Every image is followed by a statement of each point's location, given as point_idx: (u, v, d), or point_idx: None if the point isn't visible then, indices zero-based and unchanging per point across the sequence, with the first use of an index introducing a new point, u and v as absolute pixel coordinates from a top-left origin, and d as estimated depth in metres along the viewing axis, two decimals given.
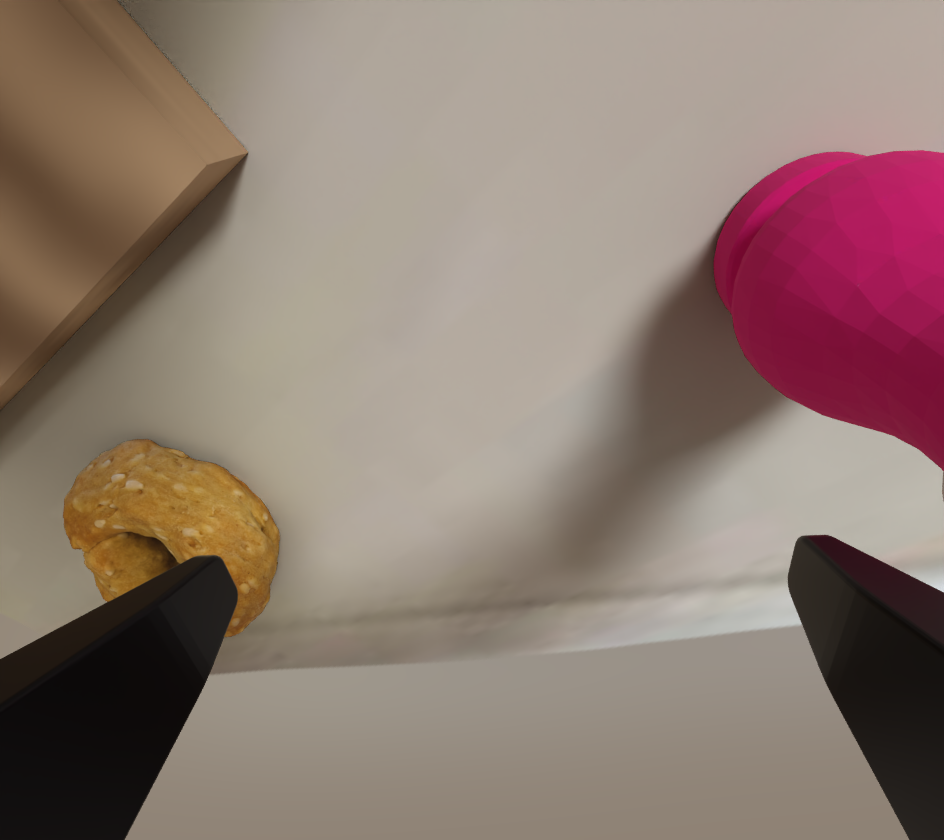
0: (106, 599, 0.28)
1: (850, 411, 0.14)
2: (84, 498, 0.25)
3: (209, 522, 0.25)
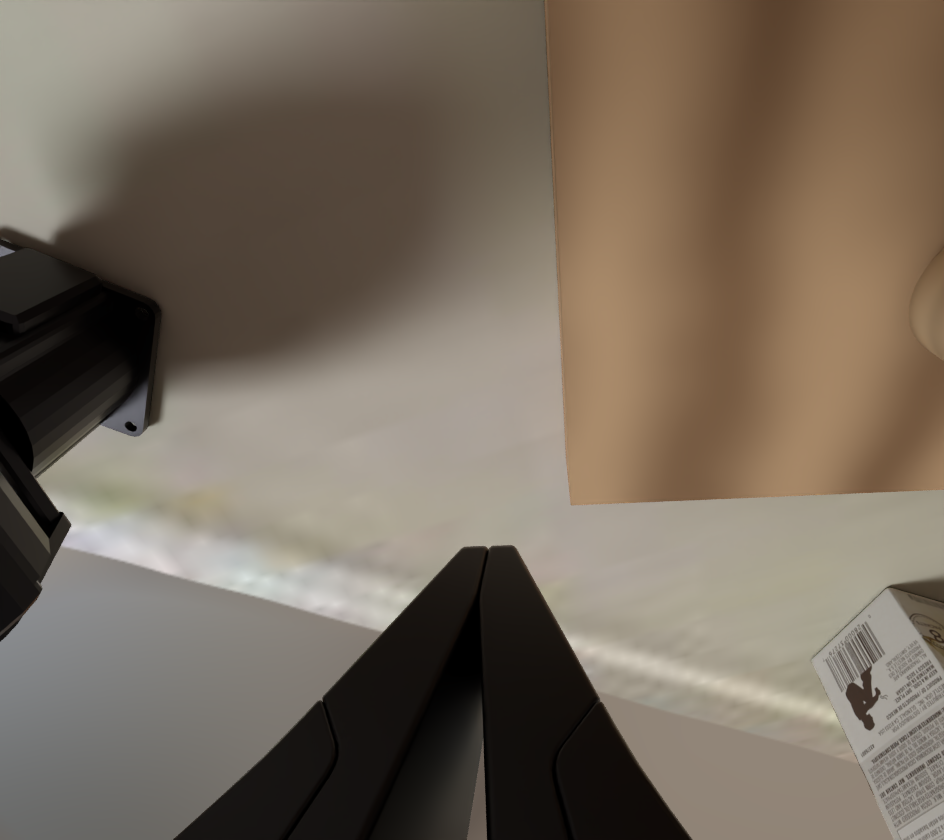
0: None
1: None
2: None
3: None
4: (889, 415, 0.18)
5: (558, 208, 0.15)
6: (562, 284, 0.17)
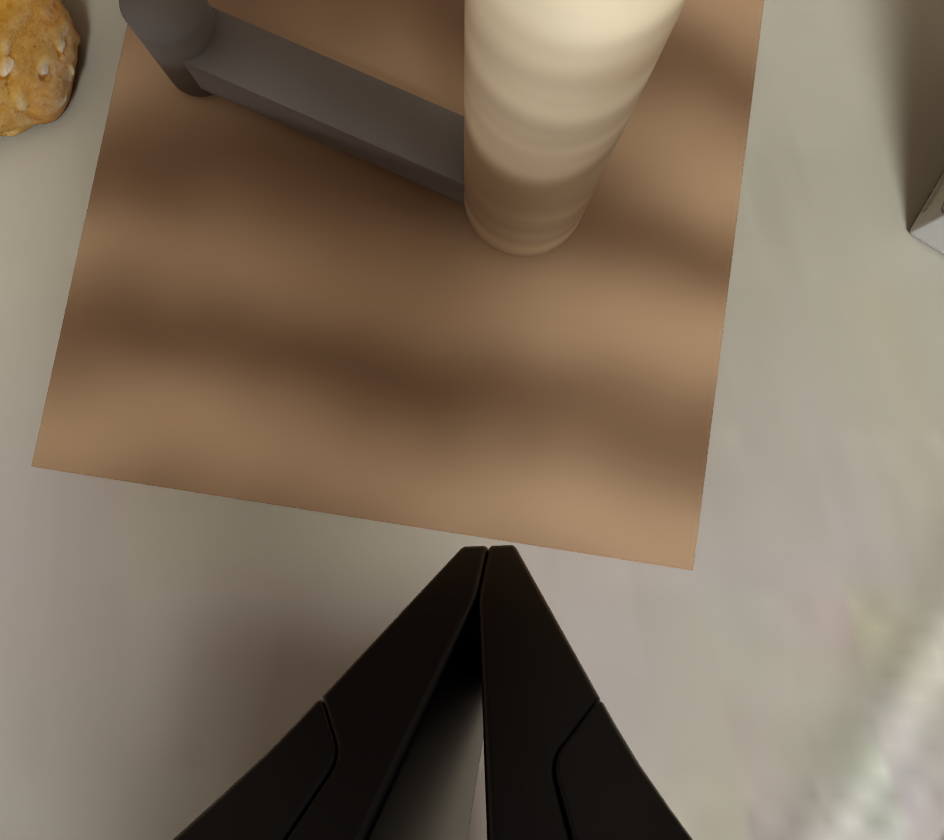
0: None
1: None
2: (17, 9, 0.20)
3: None
4: (639, 259, 0.19)
5: (375, 519, 0.19)
6: (440, 529, 0.19)
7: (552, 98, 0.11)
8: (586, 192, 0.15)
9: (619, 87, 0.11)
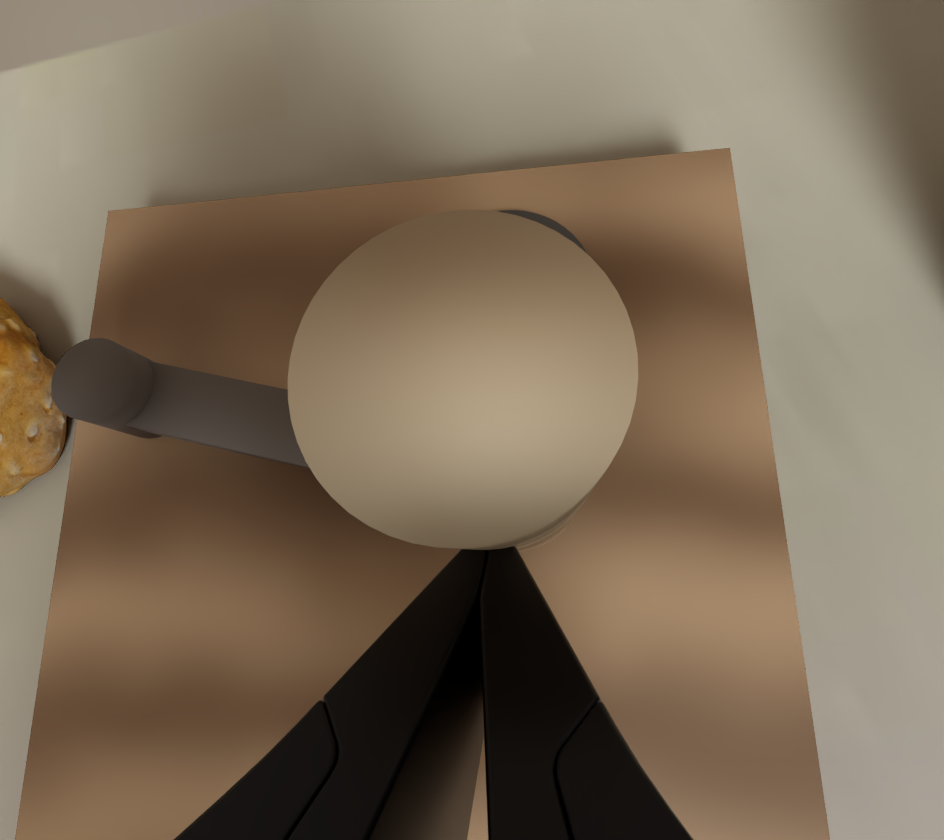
0: None
1: None
2: (1, 386, 0.20)
3: None
4: (664, 523, 0.16)
5: None
6: None
7: None
8: None
9: (564, 518, 0.08)
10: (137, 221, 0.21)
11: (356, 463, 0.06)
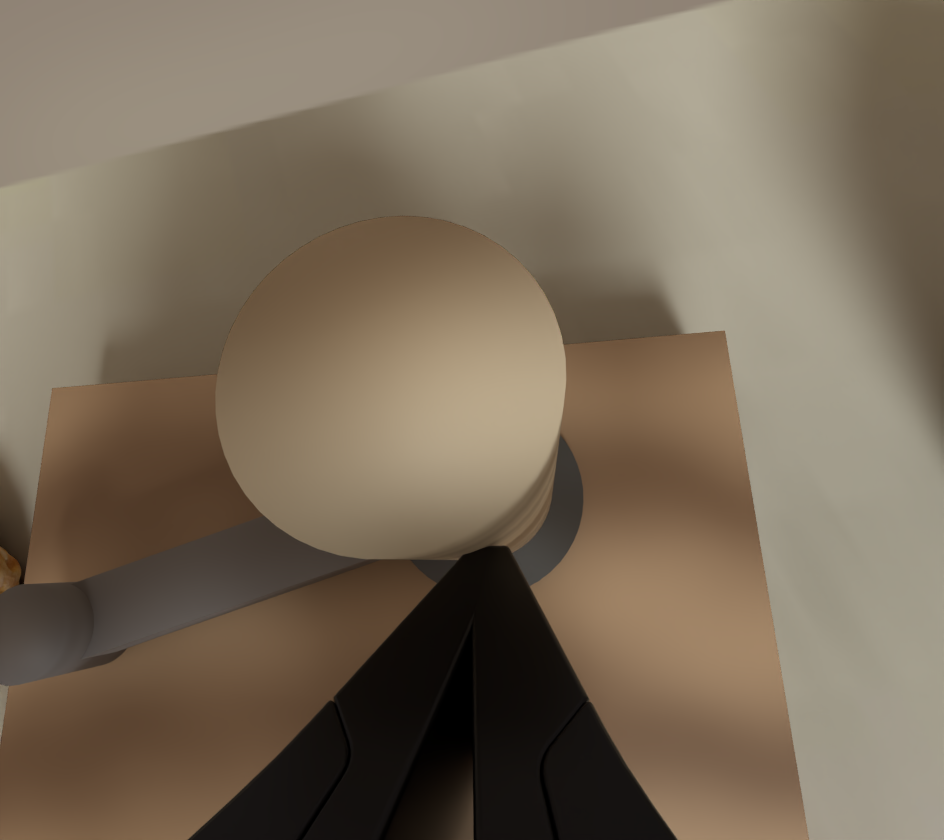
0: None
1: None
2: None
3: None
4: (667, 779, 0.14)
5: None
6: None
7: (495, 536, 0.08)
8: None
9: (552, 462, 0.08)
10: (83, 401, 0.19)
11: (346, 510, 0.06)
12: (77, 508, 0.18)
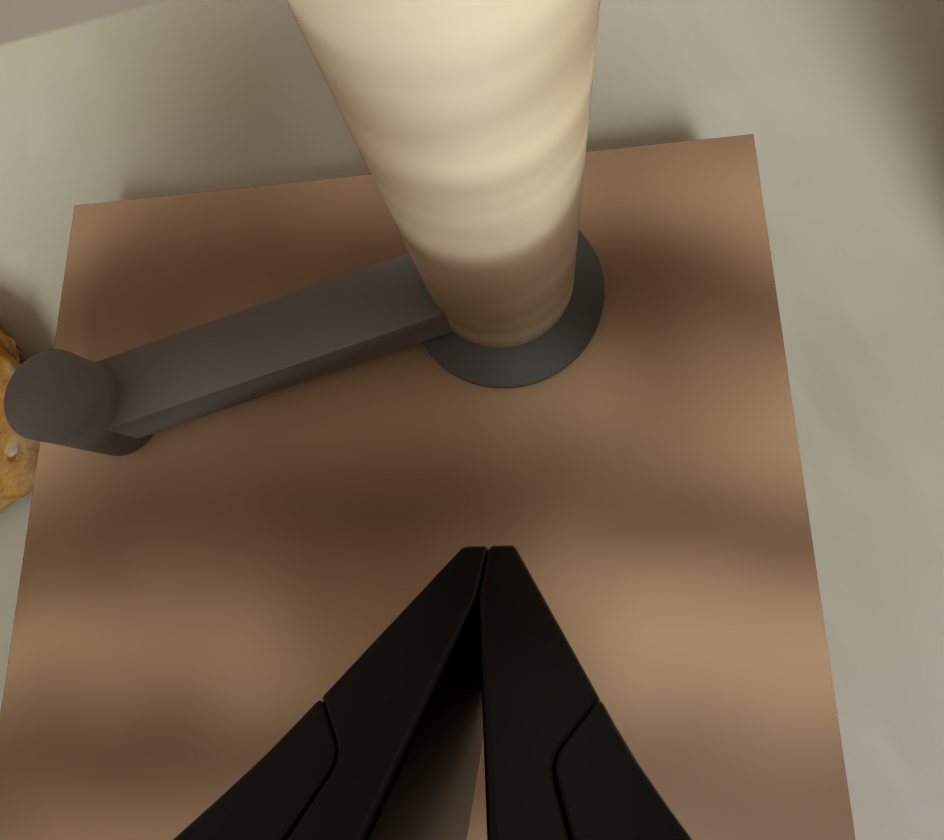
0: None
1: None
2: None
3: None
4: (681, 553, 0.14)
5: None
6: None
7: (529, 124, 0.08)
8: None
9: (589, 53, 0.08)
10: (105, 216, 0.19)
11: None
12: (100, 316, 0.18)
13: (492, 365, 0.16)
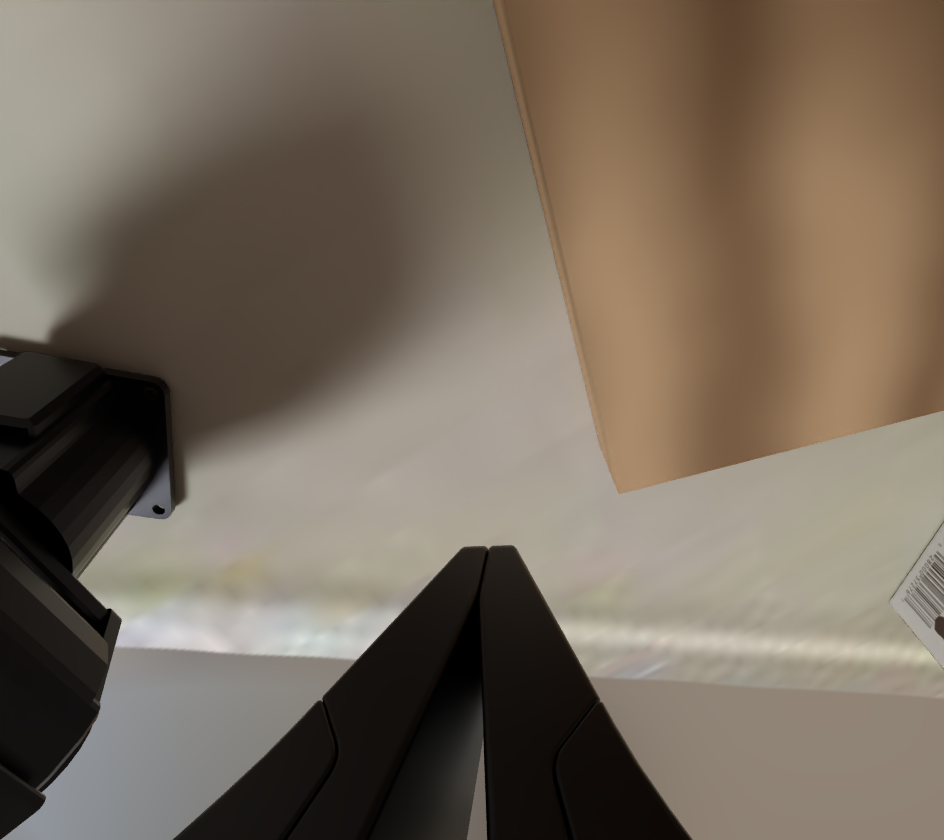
0: None
1: None
2: None
3: None
4: (923, 333, 0.17)
5: (550, 196, 0.15)
6: (568, 271, 0.16)
7: None
8: None
9: None
10: None
11: None
12: None
13: None
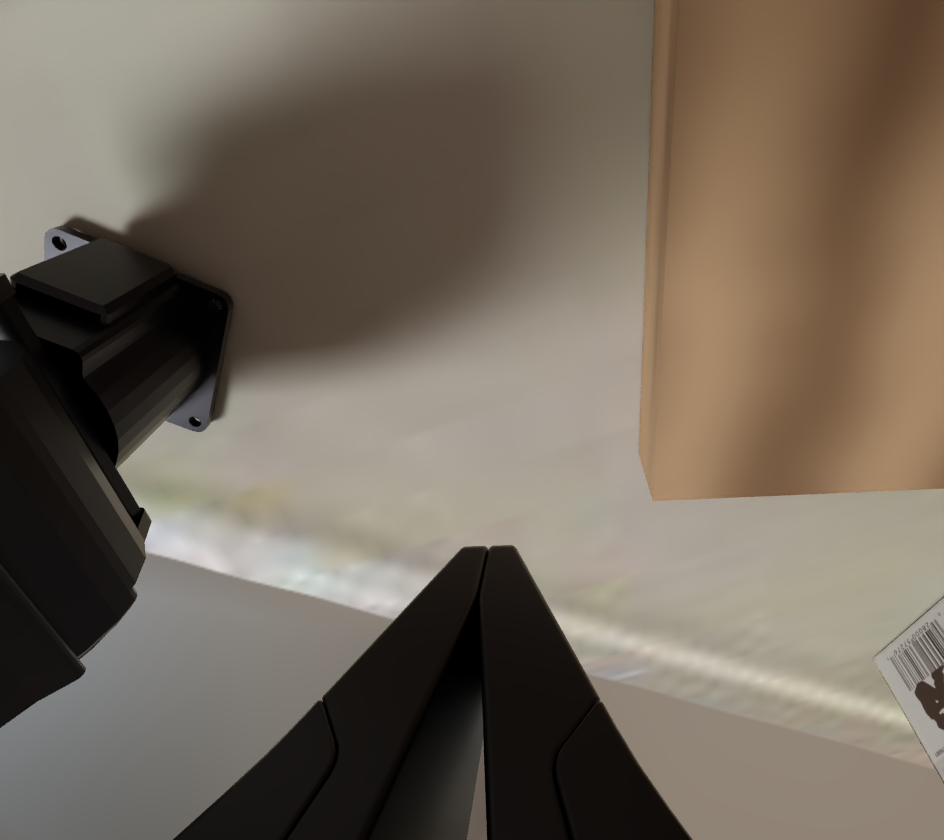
0: None
1: None
2: None
3: None
4: None
5: (670, 194, 0.15)
6: (666, 273, 0.16)
7: None
8: None
9: None
10: None
11: None
12: None
13: None
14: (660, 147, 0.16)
